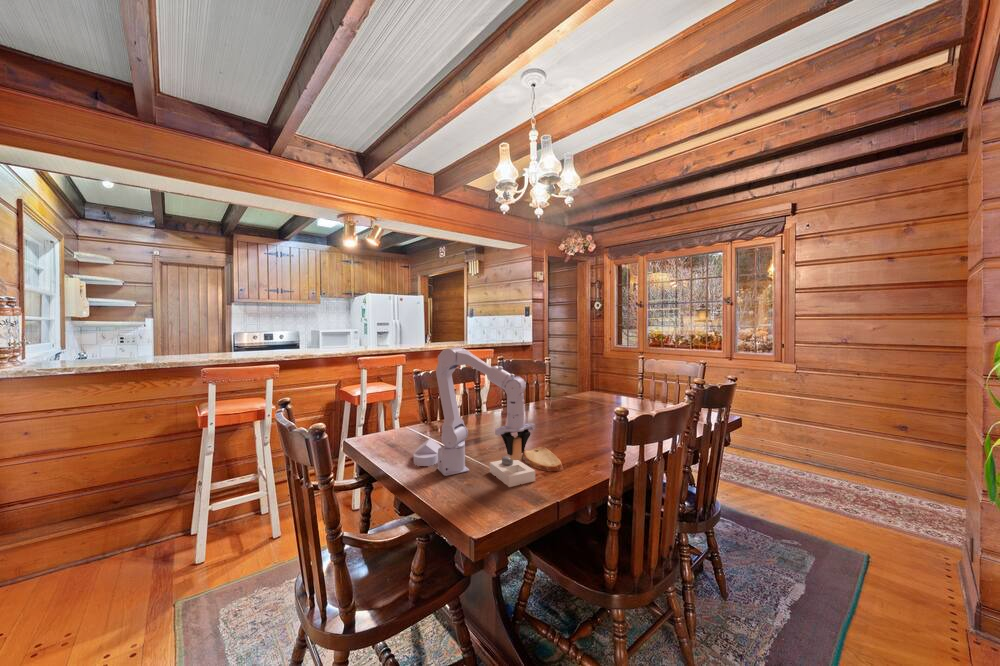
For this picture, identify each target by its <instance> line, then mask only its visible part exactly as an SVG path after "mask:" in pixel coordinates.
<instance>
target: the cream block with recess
mask: <svg viewBox="0 0 1000 666" xmlns="http://www.w3.org/2000/svg"><path fill="white" fill-rule="evenodd" d="M489 473H490V474H492V475H493V476H494V477H495V476H496V479H498V480H499V481H501V482H502V483H503V484H504V485H506V486H507V487H508V488H512V487H516V486H521V485H525V484H528V483H533V482H536V469H533V468H531V467H530V465H527V464H526V463H524V462H522V461H520V460H512V459H510V455H504V456H502V457H501V459H500V460H495V461H489ZM520 484H521V485H520Z"/></svg>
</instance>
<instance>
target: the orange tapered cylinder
mask: <svg viewBox="0 0 1000 666" xmlns="http://www.w3.org/2000/svg"><path fill="white" fill-rule="evenodd" d="M513 436H514V439H513V445H512V455H509V456H510V459H512V460H519V461H520V460H522V459H523V458H522V454H523V453H522V437H520V436H518V435H513Z"/></svg>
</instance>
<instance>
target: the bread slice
mask: <svg viewBox="0 0 1000 666" xmlns="http://www.w3.org/2000/svg"><path fill="white" fill-rule="evenodd" d="M521 459H522V460H523V461H524V462H525V464H526V465H527V464H528V466H531V467H533V468H535V469H538V470H540V469H541V471H545V472H552V471H557V472H562V471H563V470H564V467H563V464H562V461H561V459H560V458H559V457H558V456H557V455H556V454H555V453H553V452H552V451H551V450H549V449H548V448H546V447H545V446H539V447H536V448H532V449H529V450H527V449H524V453H522V458H521ZM561 470H562V471H561Z"/></svg>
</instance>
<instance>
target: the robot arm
mask: <svg viewBox="0 0 1000 666" xmlns="http://www.w3.org/2000/svg"><path fill="white" fill-rule="evenodd" d="M460 365H461V366H463V365H465V366H469V367H471V368H473V369H474V370H476V371H478V372H481V373H482V374H483V375H486V378H487V380H488V381H489V382H491V383H492V384H494V385H495V386H497V387H499V388H501V389H503V390H504V392H505V394H506V425H503V426H501V427H497V428H495V432H494V433H495V434H494V435H496V436H498V437H499V436H501V438H502V441H503V442H504V445H505V449H506V453H507V455H508V456H510V455H512V445H513V439H514V436H515V435H512V433H517V436H520V437H522V454H523V453H524V450H526V449H525V448H526V445H527V442H528V440H529V438H530V436H531V432H530V430H531V431H534V430H536V424H535V423H533V422H529V423H525V399H524V398H525V397H524V396H525V390H526V389H527V384H526V381H525V379H524V378H522V377H521V376H519V375H517V376H516V375H515V374H514V373H510V372H508V371H507V370H505V369H504V367H503V366H501V365H499V366H498V365H494V366H491V365H490V364H488V363H487V362H485V361H483V360H482V359H481V358H479V357H478V356H476V355H475V354H474V353H472V352H471V351H469V350H468V349H465V348H464V347H462V346H455V347H452V348H444V349H443V350H441V352H440V353H439V354H438V355H437V366H436V370H435V375H436V380H437V385H438V393H439V396H440V401H441V402H440V403H441V407H442V411H443V412H442V413H443V417H444V418H443V419H444V421H443V423H442V426H441V437H440V439H441V440H440V441H441V443H442V444H443V446H441V448H439V449H438V462H437V467H436V468H437V471H439V472H440V473H441V474H442V475H443V476H444V477H447V476H452V475H456V474H457V475H458V474H461V473H466V472H469V471H470V469H469V467H467V466H466V440H467V438H468V435H469V431H468V428H467V427H466V425H465V422H464V420H463V418H461V416H460V412H459V407H458V402H457V397H456V392H455V391H456V390H455V385H454V381H453V373H454V372H455V370H456V369H457V368H458V367H459V366H460Z"/></svg>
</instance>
